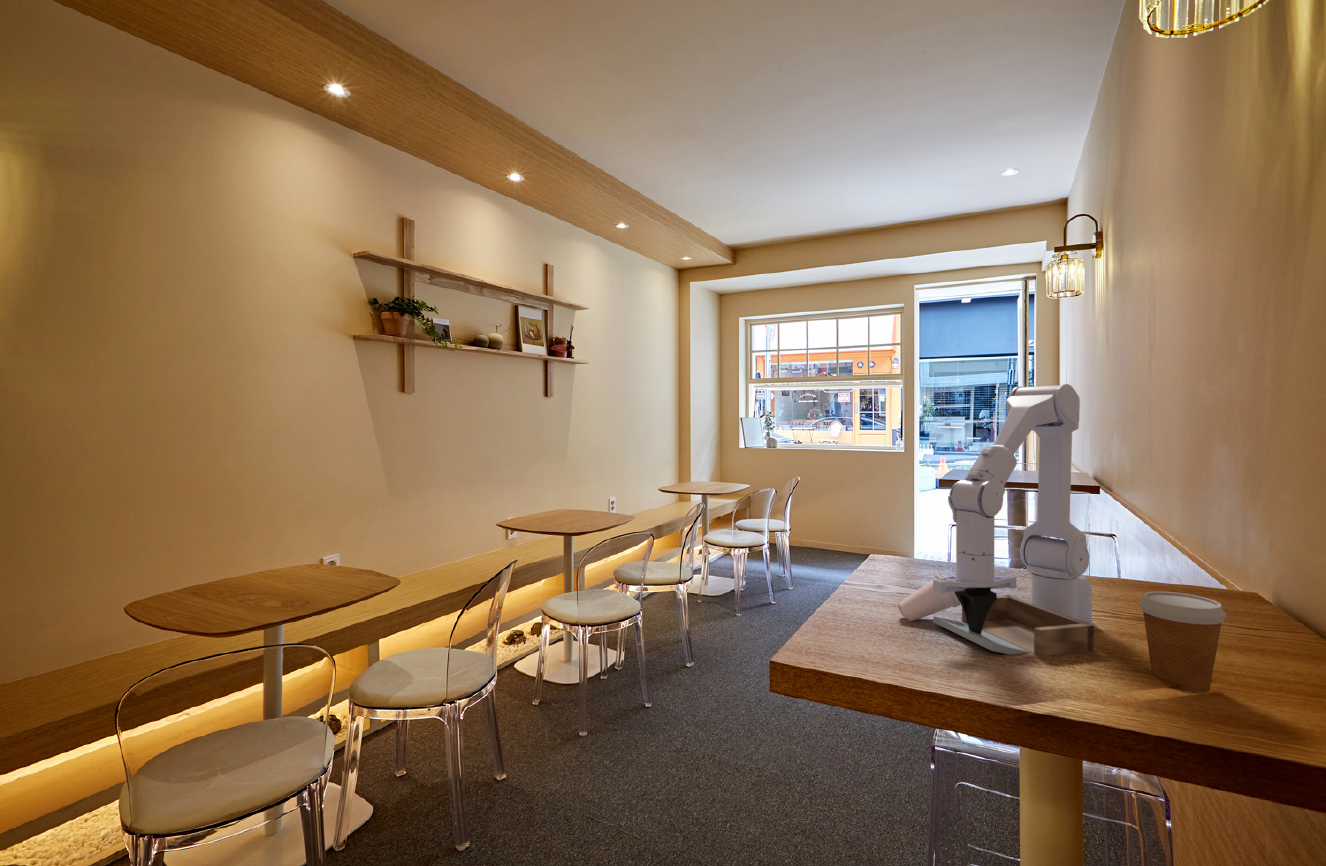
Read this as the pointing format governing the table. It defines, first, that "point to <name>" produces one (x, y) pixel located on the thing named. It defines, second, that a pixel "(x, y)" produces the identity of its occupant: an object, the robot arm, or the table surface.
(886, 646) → the table surface
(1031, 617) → the box
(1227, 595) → the table surface
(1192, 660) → the disposable coffee cup
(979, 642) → the panel
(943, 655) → the table surface
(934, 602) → the smoothie
